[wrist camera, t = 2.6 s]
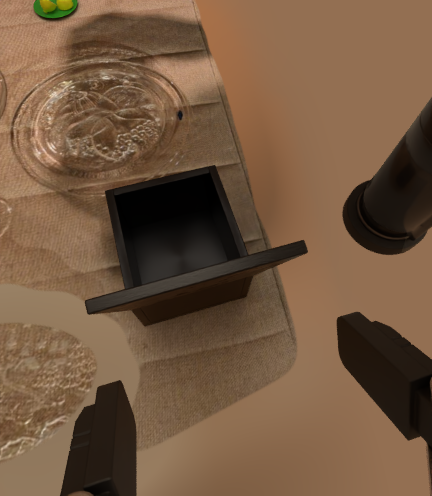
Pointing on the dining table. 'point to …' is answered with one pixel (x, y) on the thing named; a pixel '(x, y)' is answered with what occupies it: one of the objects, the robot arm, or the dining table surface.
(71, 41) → the dining table surface
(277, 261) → the black square slab
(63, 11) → the green plate with lemons
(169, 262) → the hinged lid box
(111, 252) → the dining table surface
